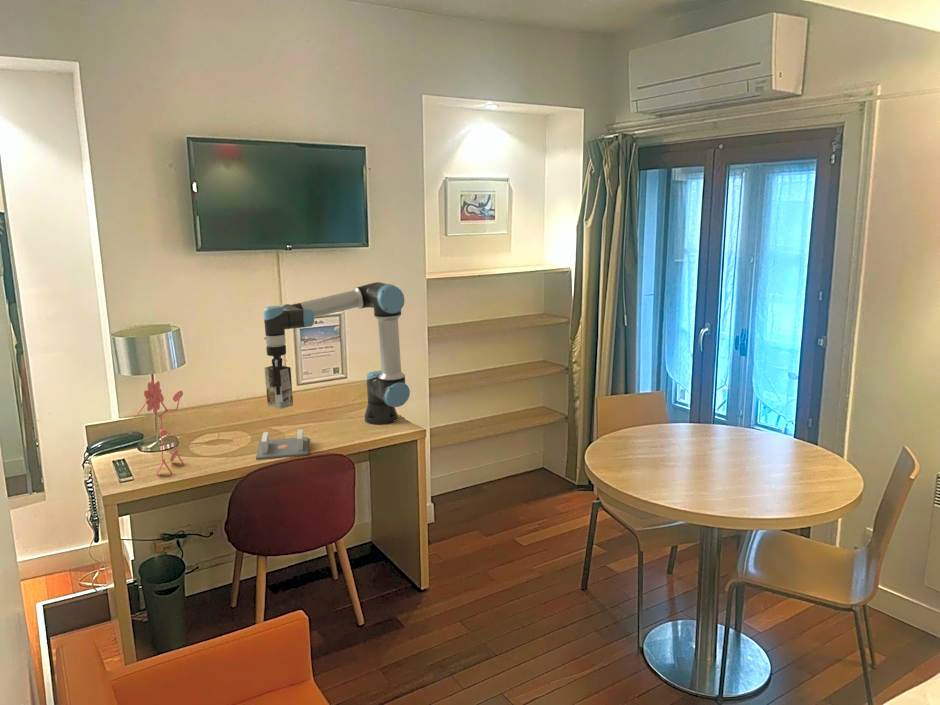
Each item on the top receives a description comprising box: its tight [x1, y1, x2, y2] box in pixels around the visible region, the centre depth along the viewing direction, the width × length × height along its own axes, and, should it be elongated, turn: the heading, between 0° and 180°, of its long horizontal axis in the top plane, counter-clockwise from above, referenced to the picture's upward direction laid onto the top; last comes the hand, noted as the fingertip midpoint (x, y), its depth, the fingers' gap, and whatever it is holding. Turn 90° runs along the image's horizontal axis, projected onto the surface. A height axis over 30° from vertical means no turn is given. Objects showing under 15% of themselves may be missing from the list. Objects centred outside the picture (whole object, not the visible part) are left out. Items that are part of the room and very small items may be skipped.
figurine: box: [134, 379, 185, 475], centre depth 259 cm, size 15×26×35 cm, turn 175°
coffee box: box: [264, 365, 294, 410], centre depth 277 cm, size 9×6×16 cm
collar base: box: [255, 428, 309, 460], centre depth 282 cm, size 20×20×6 cm
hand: (279, 398), depth 278 cm, fingers closed on coffee box, 11 cm apart
